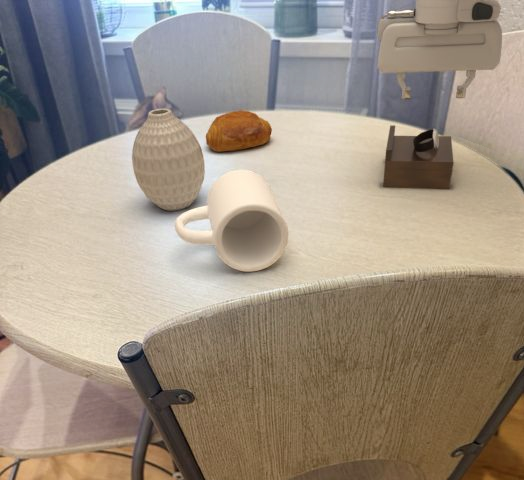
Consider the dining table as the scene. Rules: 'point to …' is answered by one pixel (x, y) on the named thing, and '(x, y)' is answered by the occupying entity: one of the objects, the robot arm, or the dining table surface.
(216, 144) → the croissant
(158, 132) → the vase
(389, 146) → the brown wooden box
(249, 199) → the mug
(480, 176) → the dining table surface
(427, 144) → the watch
